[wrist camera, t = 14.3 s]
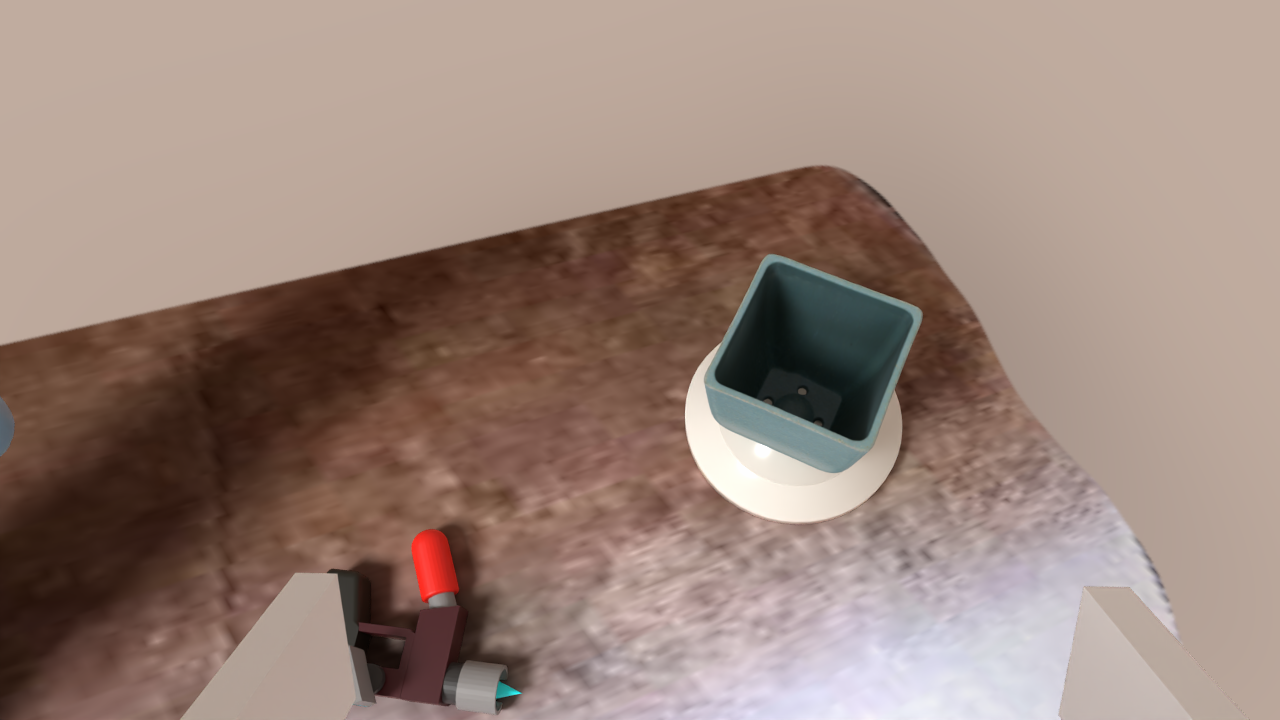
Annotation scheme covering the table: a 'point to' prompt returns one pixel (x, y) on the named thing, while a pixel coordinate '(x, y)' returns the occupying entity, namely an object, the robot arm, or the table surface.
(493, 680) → the toy gun
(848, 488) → the saucer
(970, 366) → the table surface
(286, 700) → the robot arm
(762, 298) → the flower pot
